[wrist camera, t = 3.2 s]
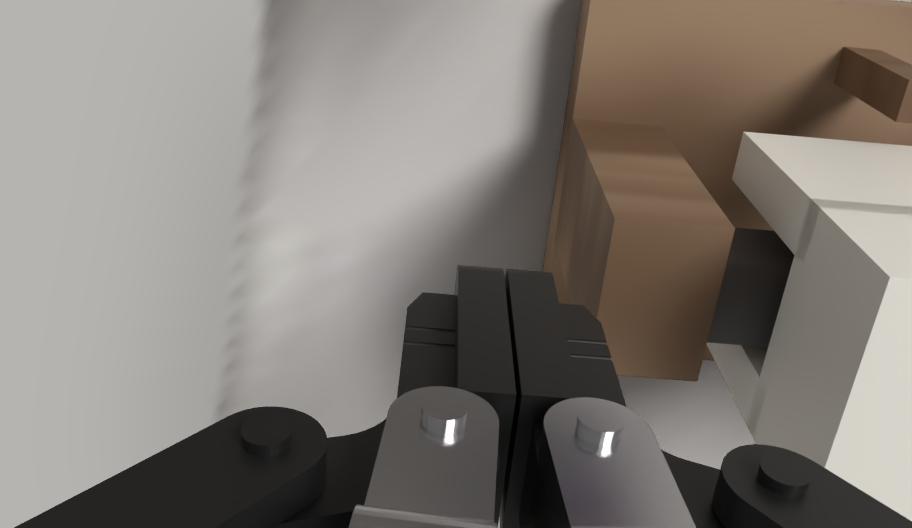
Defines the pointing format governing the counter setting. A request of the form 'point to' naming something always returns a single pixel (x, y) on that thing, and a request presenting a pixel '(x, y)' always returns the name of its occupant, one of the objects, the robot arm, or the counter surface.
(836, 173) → the grooved cream cube
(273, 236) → the counter surface
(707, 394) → the counter surface
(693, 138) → the brown peg stand
